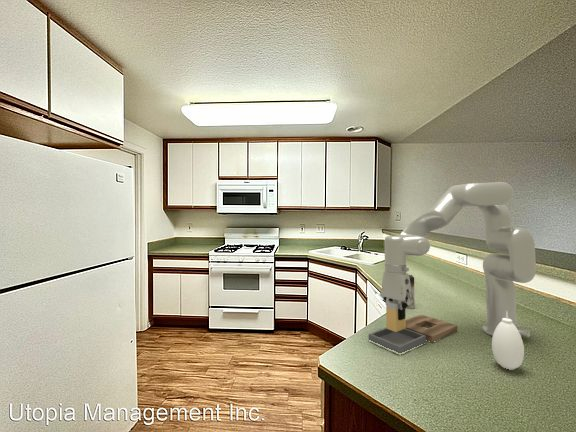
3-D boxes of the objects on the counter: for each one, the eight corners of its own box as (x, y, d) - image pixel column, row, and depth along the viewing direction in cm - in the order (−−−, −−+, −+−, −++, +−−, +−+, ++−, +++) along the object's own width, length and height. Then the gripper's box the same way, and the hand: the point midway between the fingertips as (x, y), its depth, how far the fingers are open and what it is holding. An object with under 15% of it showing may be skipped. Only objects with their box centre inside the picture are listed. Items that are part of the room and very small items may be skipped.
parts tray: (426, 343, 108) (425, 335, 108) (400, 356, 99) (399, 347, 99) (394, 331, 119) (394, 324, 119) (368, 341, 110) (368, 334, 110)
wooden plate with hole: (457, 331, 118) (457, 325, 118) (432, 343, 108) (432, 336, 108) (420, 319, 131) (420, 314, 131) (395, 329, 121) (395, 323, 121)
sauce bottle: (486, 365, 92) (485, 308, 92) (503, 360, 95) (502, 305, 95) (513, 377, 85) (512, 316, 84) (530, 372, 87) (529, 312, 87)
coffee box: (395, 308, 148) (395, 276, 147) (394, 304, 154) (393, 274, 154) (415, 309, 145) (414, 277, 145) (412, 305, 152) (412, 274, 152)
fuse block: (405, 328, 109) (405, 301, 109) (395, 332, 106) (395, 304, 105) (396, 324, 112) (396, 299, 112) (386, 328, 109) (386, 302, 109)
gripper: (422, 271, 104) (422, 322, 104) (383, 264, 118) (384, 309, 118) (409, 273, 100) (410, 326, 100) (371, 266, 114) (371, 313, 114)
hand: (396, 316), depth 109 cm, fingers closed on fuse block, 4 cm apart
